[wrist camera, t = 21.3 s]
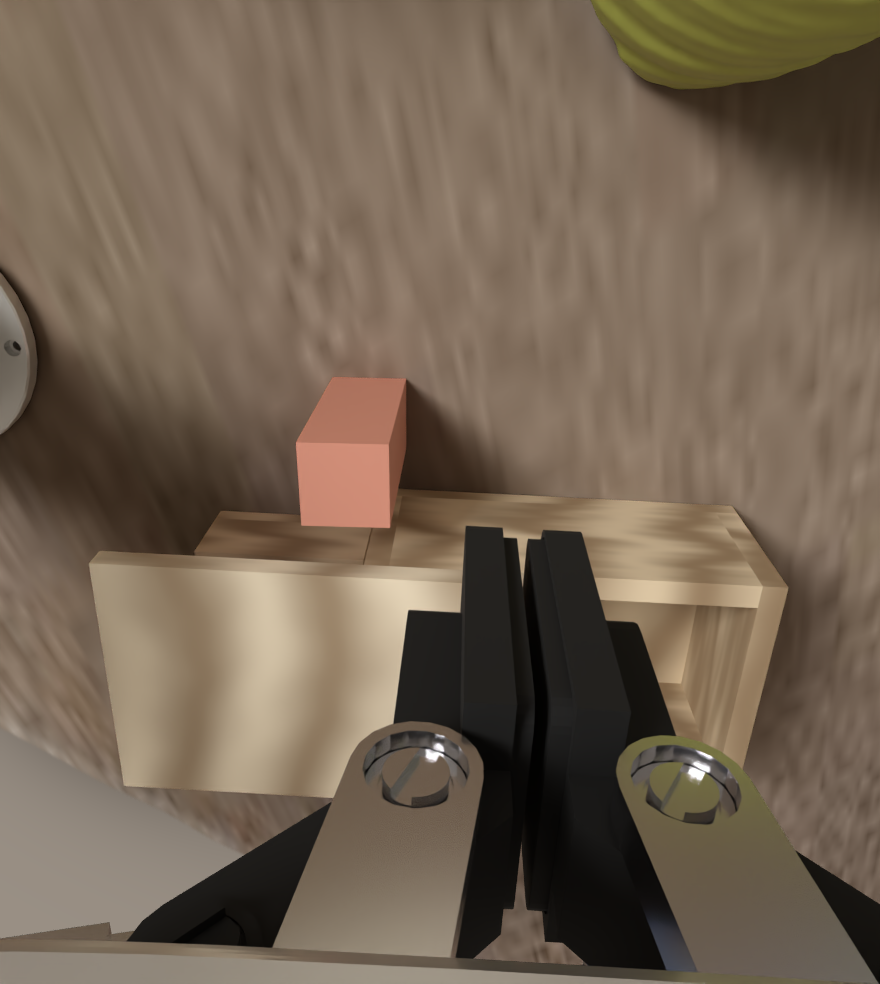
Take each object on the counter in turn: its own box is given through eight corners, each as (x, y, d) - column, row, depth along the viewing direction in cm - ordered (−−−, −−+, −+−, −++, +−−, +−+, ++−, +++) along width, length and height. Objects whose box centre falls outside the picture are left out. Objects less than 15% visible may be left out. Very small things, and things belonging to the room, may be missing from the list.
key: (335, 446, 45) (301, 525, 36) (332, 377, 44) (295, 442, 35) (406, 447, 45) (390, 528, 36) (406, 378, 44) (388, 444, 34)
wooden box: (233, 664, 52) (188, 765, 44) (218, 479, 46) (164, 554, 38) (693, 690, 51) (735, 796, 43) (731, 505, 46) (788, 587, 38)
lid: (132, 769, 43) (91, 847, 39) (99, 550, 38) (46, 611, 33) (510, 791, 43) (515, 872, 38) (533, 573, 38) (541, 638, 33)
